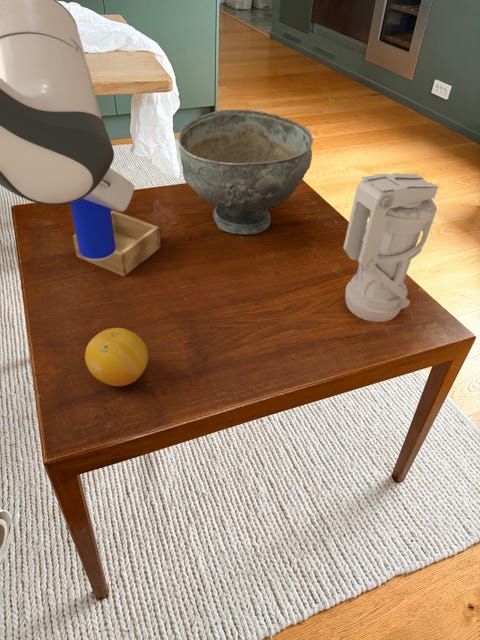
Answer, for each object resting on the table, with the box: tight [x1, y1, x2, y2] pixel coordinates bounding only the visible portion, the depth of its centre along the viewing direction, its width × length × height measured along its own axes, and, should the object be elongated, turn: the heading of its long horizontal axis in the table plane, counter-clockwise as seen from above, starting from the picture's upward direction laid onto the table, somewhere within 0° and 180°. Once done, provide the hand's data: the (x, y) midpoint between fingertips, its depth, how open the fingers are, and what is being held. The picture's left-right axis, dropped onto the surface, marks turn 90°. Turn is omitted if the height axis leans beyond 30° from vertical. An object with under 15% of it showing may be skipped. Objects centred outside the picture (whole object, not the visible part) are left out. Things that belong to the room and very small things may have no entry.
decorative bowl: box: [177, 108, 314, 235], centre depth 104 cm, size 26×26×20 cm
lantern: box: [343, 172, 439, 323], centre depth 81 cm, size 13×10×25 cm
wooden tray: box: [72, 210, 162, 277], centre depth 97 cm, size 12×12×5 cm
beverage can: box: [69, 199, 116, 261], centre depth 68 cm, size 5×5×15 cm
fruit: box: [84, 327, 149, 387], centre depth 72 cm, size 9×8×8 cm
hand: (91, 193), depth 67 cm, fingers closed on beverage can, 5 cm apart
